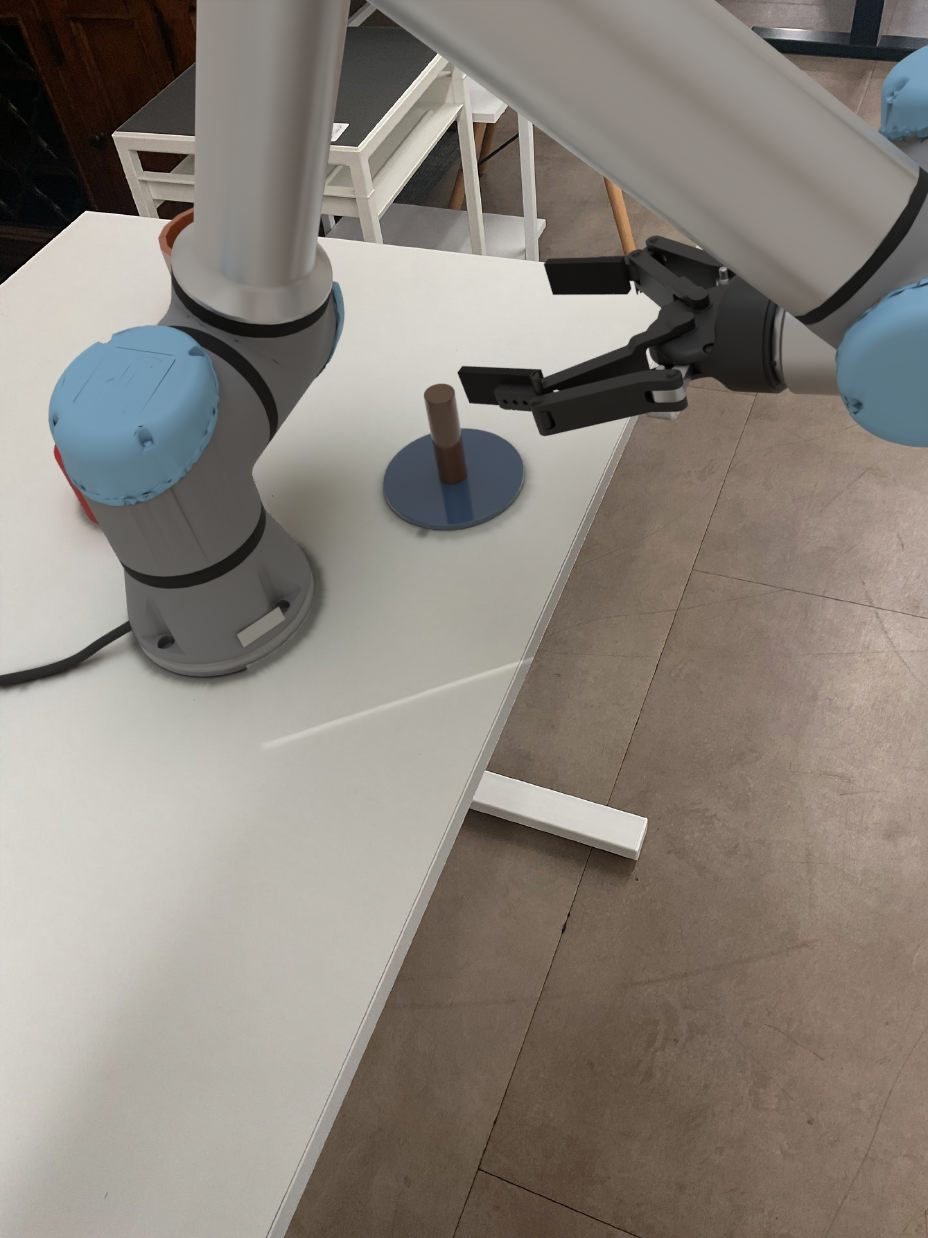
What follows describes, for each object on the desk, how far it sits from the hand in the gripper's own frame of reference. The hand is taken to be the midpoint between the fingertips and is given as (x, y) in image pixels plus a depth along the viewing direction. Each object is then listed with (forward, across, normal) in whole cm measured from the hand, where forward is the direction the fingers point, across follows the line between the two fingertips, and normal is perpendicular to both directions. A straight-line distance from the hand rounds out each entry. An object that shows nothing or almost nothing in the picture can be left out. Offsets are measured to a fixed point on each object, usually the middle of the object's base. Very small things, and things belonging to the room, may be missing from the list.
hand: (509, 328), depth 75 cm
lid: (+10, -2, -15) cm, 18 cm away
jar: (+47, +14, -8) cm, 49 cm away
